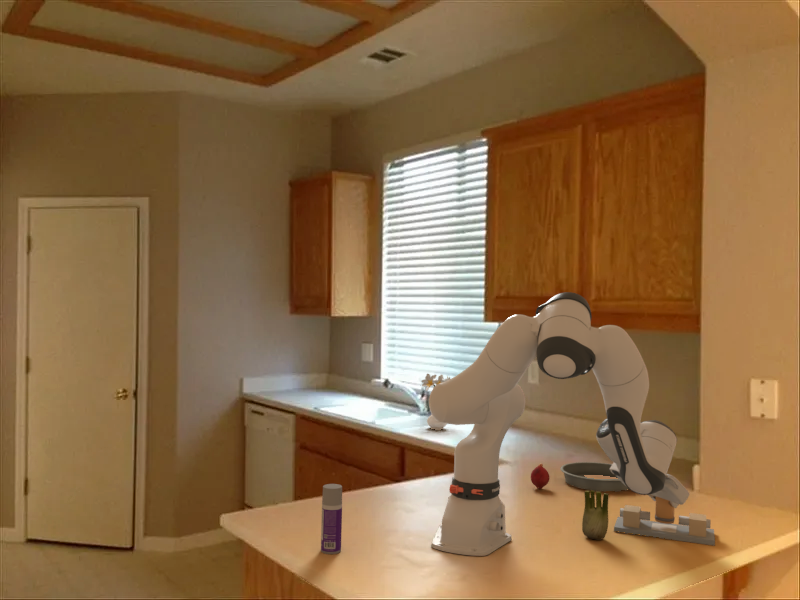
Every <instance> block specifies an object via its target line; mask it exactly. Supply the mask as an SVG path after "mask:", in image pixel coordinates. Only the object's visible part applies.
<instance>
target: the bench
mask: <svg viewBox="0 0 800 600" xmlns="http://www.w3.org/2000/svg"><path fill="white" fill-rule="evenodd" d="M711 521H712V520H711V519H708V518H707V514H702V513H695V512H689V515H688V516H685V515H678V524H676V523H672V524H665V523H660V522H657V521H652V520H651V511H645V510H642V507H641V506H638V505H637V506H636V505H631V504H629V505H628V504H625V505H624V508H623V507H620V508H619V516H617V518H616V521H615V524H614V526H613V532H614V531H619V532H618V533H620V532H625V533H624V534H628V533H633V534H632V535H635V534H640V535H639V536H642V535H646V536H645V537H649V536H653V537H652V538H656V537H659V538H658V539H664V538H665V540H671V539H672V540H673V541H677V542H678V541H680V542H685V543H686V542H687V543H695V544H701V545H708V546H715V545H716V540H715V539H716V538H715V529H714V528H711Z"/></svg>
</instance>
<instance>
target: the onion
mask: <svg viewBox="0 0 800 600" xmlns="http://www.w3.org/2000/svg"><path fill="white" fill-rule="evenodd" d="M537 465H538V466H536V467H534V469H533V470H532V471H531V473H530V481H531V483H532V485H533V486H534V487H536V488H537V489H538V490H541V489H543V488H545V486H547V485H548V484H549V482H550V480H551V479H550V474H549V471H548V470H547V469H546V468H545V467H544V466H543V463H539V464H537Z"/></svg>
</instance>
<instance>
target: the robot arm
mask: <svg viewBox="0 0 800 600" xmlns="http://www.w3.org/2000/svg"><path fill="white" fill-rule="evenodd" d="M592 318H593V316H592V310H591V306H590V304H589V303H588V301H587V299H586V298H585V297H583V296H582V295H581V294H578V293H575V292H572V291H570V292H569V291H567V292H560V293H558V294H555V295H554V296H552V297H551V298H549V299H548V300H547V301H546V302H545V303H543V304H541V305H538V307H536V310H535V315H534V316H529V315H525V314H513V315H510V316H509V317H507V318H506V319H505V320H504V321H503V322H502V323H501V324H500V326H498V328H497V329H496V330H495V331H494V332H493V334H491V337H490V338H489V339H488V341H487V343H486V344H485V346H484V348H483V349H482V351H481V352H480V354H479V355H478V357H477V358H476V359H475V360H474V362H472V364H471V365H469V366H468V367H467V368H465V369H463V370H462V371H461V372H459V374H457V375H455V376H453V377H451V378H450V380H448V381H445V382H443V383H440V384H437V385H436V384H435V387H434V386H433V387H434V388H433V387H432V389H431V392H430V394H429V399H428V406H429V410H430V413H431V414H432V415H433V417H434V418H435V419H436V420H437V421H438V422H442V423H447V425H455V426H463V425H473V428H472V430H471V431H470V433H469V434H468V435H466V437H464V438H463V439H461V440H460V441H459V442H457V444H456V446H455V449H454V455H453V456H454V457H453V458H454V463H453V464H454V466H453V476H452V479H451V484H450V486H449V494H450V495H449V496H448V499H447V502H446V506H445V509H444V512H443V516H442V519H441V524H439V525H438V528H437V530H436V532H435V534H434V535H433V539H432V541H431V548H433V549H435V550H439V551H443V552H447V553H451V554H455V555H456V554H458V555H464V556H477V557H479V556H480V557H481V556H482V557H483V556H485V557H486V556H488V555H490V554H491V553H494V551H496V550H498V549H499V548H501V547H502V546H504V545H506V544H507V543H509V542H510V541H512V535H511V534H510V533H508V532H506V531H507V530H506V529H507V528H506V505H505V503H503V501H502V499H500V496H499V495H500V489H501V483H500V482H501V481H500V479H499V463H500V461H499V460H500V452H501V447H502V443H503V441H504V440H505V439H504V438H505V436H506V435H507V432H508V431H509V429H510V428H511V426H512V425H513V424H514V423H515V422H516V421H517V420H518V419H520V418H521V417H522V415H523V414H524V411H525V409H526V401H527V400H526V399H527V398H526V395H525V392H524V390H523V389H522V387H521V385H520V384H519V382H520V381H521V379H522V377H524V375H525V373H526V372H527V371H528V369H529V367H530V366H531V365H532V363H533V361H534V360H535V359H536V361H537V365H538V367H539V370H540V371H541V372H542V373H544V374H545V375H546V376H548V377H551V378H554V379H559V380H566V379H567V380H568V379H572V378H575V377H578V376H582V375H585V374H587V373H589V372H590V371H591V370H592V372H593V374H594V376H595V379H596V381H597V384H598V387H599V389H600V393H601V395H602V398H603V404H604V409H605V415H606V418H605V419H604V420H603V421H602V422H601V423H600V425H599V427H598V428H597V431H596V433H595V437H596V440H597V443H598V444H599V446H600V448H601V449H602V451H603V452H604V454H605V455H606V456H607V457H608V459H609V460H610V461H611V462H613V463H611V464H612V466H611V467H610V471H611V472H612V473H613V474H615V475H616V476H617V478H618V479H619V480H620V481H621V482H622V483H623V484H624V485H626V486H627V487H628V488H629V489H628V490H630V491H632V492H633V493H636V494H637V495H642V496H648V497H649V498H651V499H652V501H654V502H656V496H657V497H659V498H662V499H665V500H668V501H669V502H668V504H669V505H670V506H671V507H674V509H677V508H678V506H679V505H681V506H683V505H684V504H685V503H686V502H687V500H688V498H689V496H690V492H689V490H688V489H687V488H686V487H685V486H684V485H683V484H682V483H681V481H680V480H679V479H678V478H676V477H675V476H674V475H672V474H669V473H668V470H669V468H670V465H671V462H672V459H673V456H674V452H675V451H676V450H675V449H676V445H677V442H678V438H677V435H676V433H675V431H673V429H672V428H671V427H670V426H668V425H667V424H666V423H664V422H662V421H660V420H656V419H655V420H653V419H650V420H644V421H641V419H642V416H643V415H642V414H643V411H644V408H645V404H646V402H647V401H646V400H647V398H648V393H649V390H650V379H649V377H650V376H649V371H648V369H647V365H646V364H645V361H644V359H643V357H642V355H641V353H640V351H639V349H638V347H637V345H636V343H635V342H634V340H633V339H632V337H630V335H629V334H628V332H627V331H626V330H625V329H624V328H623V327H621V326H618V325H615V324H606V325H602V326H600V327H594V326H592V325H591V322H592Z"/></svg>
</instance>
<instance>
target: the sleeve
mask: <svg viewBox="0 0 800 600" xmlns="http://www.w3.org/2000/svg"><path fill="white" fill-rule="evenodd" d="M668 502H669V501H668V500H665V499H662V498H659V497H657V496H656V501H655V513H654V520H655V522H660V523H665V524H675V520H676V519H675V508H674V507H671V506H670V505H669V504H668Z"/></svg>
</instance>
